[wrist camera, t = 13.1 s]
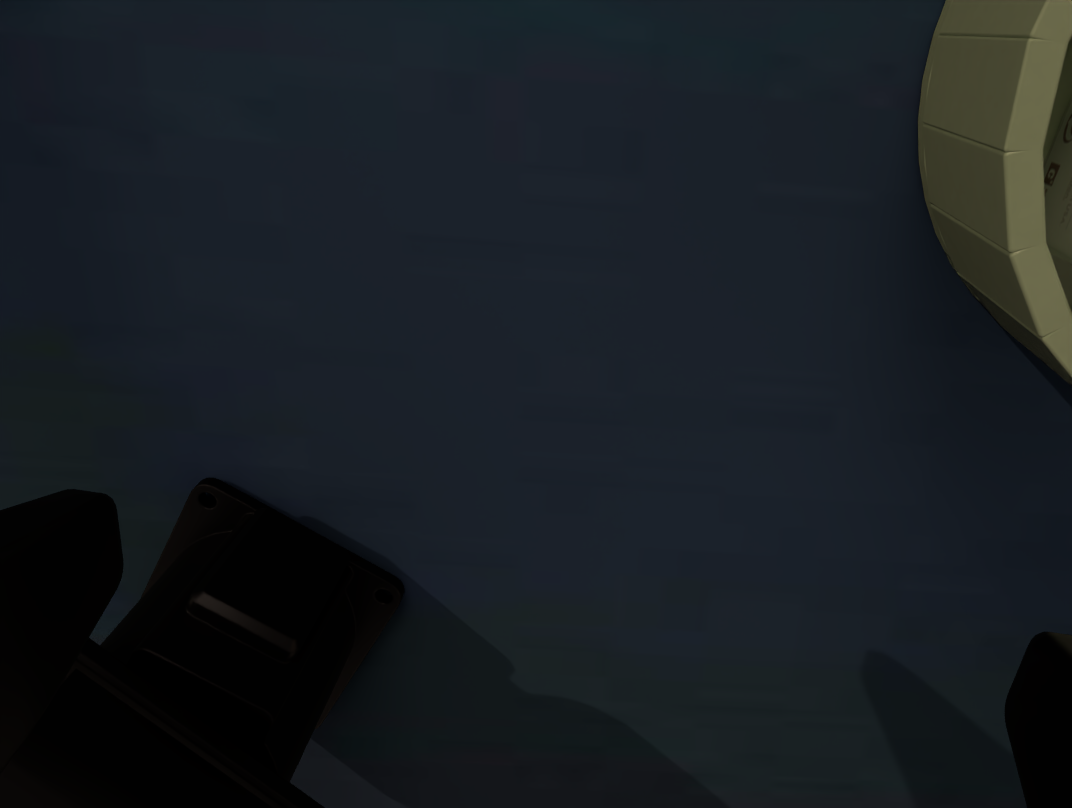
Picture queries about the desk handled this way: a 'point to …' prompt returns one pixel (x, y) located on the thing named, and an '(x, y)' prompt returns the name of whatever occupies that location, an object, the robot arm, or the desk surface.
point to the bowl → (1000, 160)
